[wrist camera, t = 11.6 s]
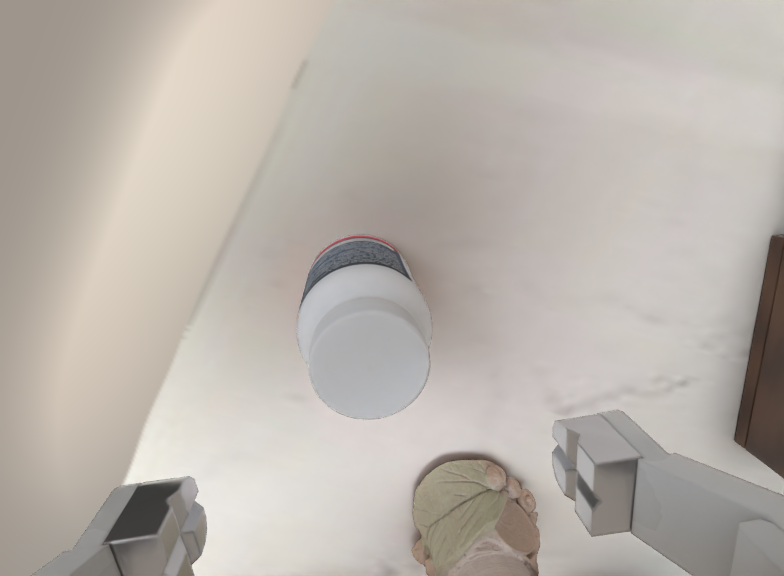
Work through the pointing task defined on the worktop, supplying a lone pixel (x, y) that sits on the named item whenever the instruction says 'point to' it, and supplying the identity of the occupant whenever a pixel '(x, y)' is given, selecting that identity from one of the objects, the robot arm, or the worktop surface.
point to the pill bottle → (364, 328)
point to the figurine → (475, 522)
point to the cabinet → (766, 371)
